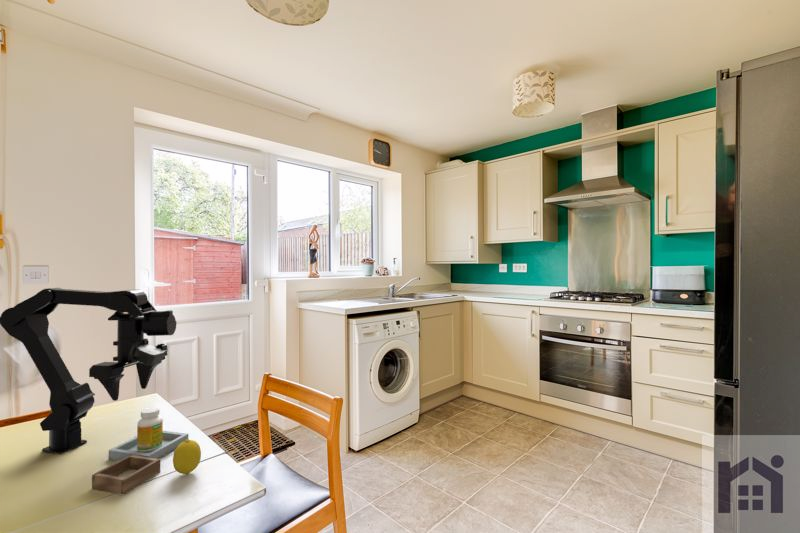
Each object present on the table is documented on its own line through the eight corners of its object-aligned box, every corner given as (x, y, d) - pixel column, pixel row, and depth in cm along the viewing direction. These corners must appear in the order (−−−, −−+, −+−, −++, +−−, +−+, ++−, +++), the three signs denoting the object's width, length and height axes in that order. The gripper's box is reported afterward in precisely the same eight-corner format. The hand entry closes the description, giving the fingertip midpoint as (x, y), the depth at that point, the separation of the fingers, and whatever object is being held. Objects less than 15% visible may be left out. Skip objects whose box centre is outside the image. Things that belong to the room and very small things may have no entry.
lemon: (188, 483, 79) (188, 446, 79) (166, 480, 80) (166, 444, 80) (206, 469, 85) (206, 435, 85) (186, 466, 86) (186, 432, 86)
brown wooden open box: (91, 488, 77) (91, 474, 77) (130, 467, 85) (130, 454, 85) (124, 494, 75) (124, 480, 75) (160, 472, 83) (160, 459, 83)
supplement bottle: (154, 452, 91) (154, 414, 91) (131, 453, 91) (132, 414, 91) (166, 442, 96) (167, 405, 96) (145, 442, 96) (146, 406, 96)
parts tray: (108, 459, 89) (108, 450, 89) (152, 436, 101) (152, 429, 101) (148, 465, 86) (148, 456, 86) (188, 441, 98) (188, 433, 98)
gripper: (129, 344, 87) (129, 408, 87) (182, 331, 106) (182, 384, 106) (87, 343, 88) (86, 407, 88) (147, 330, 107) (146, 383, 107)
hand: (130, 394), depth 97 cm, fingers open, 9 cm apart
